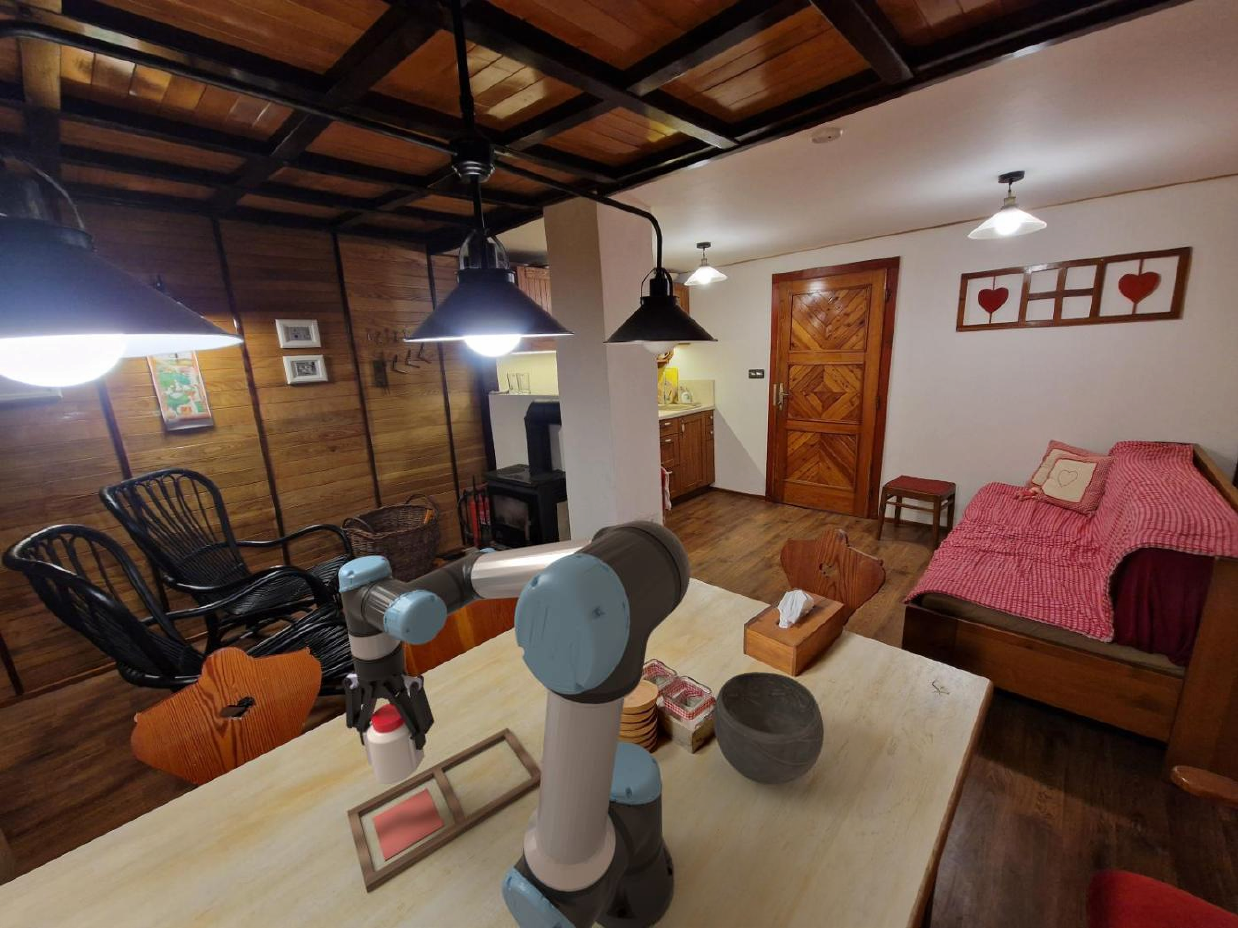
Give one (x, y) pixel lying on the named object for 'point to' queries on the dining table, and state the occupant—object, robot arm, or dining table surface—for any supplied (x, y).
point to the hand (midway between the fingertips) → (396, 760)
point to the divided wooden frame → (428, 813)
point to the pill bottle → (389, 746)
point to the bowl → (768, 727)
